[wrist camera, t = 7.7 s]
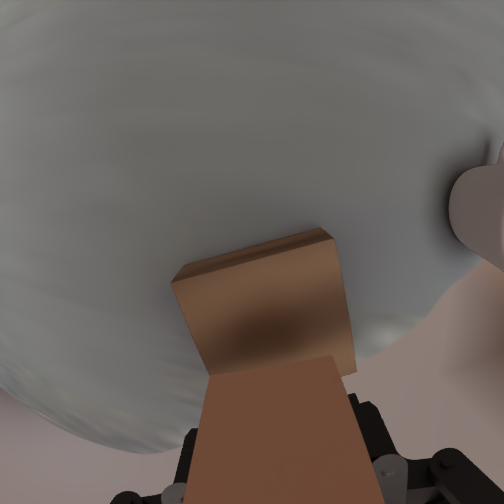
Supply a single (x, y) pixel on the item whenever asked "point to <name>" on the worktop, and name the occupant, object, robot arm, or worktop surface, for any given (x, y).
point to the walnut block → (268, 305)
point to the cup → (480, 210)
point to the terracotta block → (280, 440)
